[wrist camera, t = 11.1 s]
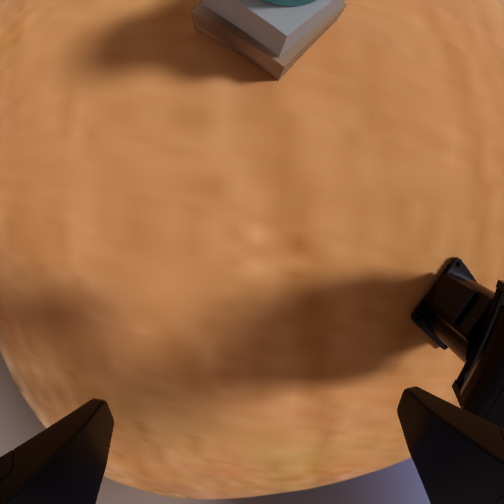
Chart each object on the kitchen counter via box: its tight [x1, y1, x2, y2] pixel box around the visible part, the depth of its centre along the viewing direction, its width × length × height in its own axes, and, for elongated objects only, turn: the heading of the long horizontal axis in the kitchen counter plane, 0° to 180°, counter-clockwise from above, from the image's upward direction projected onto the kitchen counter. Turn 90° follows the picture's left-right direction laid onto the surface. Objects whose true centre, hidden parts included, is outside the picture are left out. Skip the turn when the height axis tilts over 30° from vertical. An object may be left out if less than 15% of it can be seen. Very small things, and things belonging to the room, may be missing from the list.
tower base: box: [190, 0, 347, 80], centre depth 15 cm, size 7×7×3 cm
